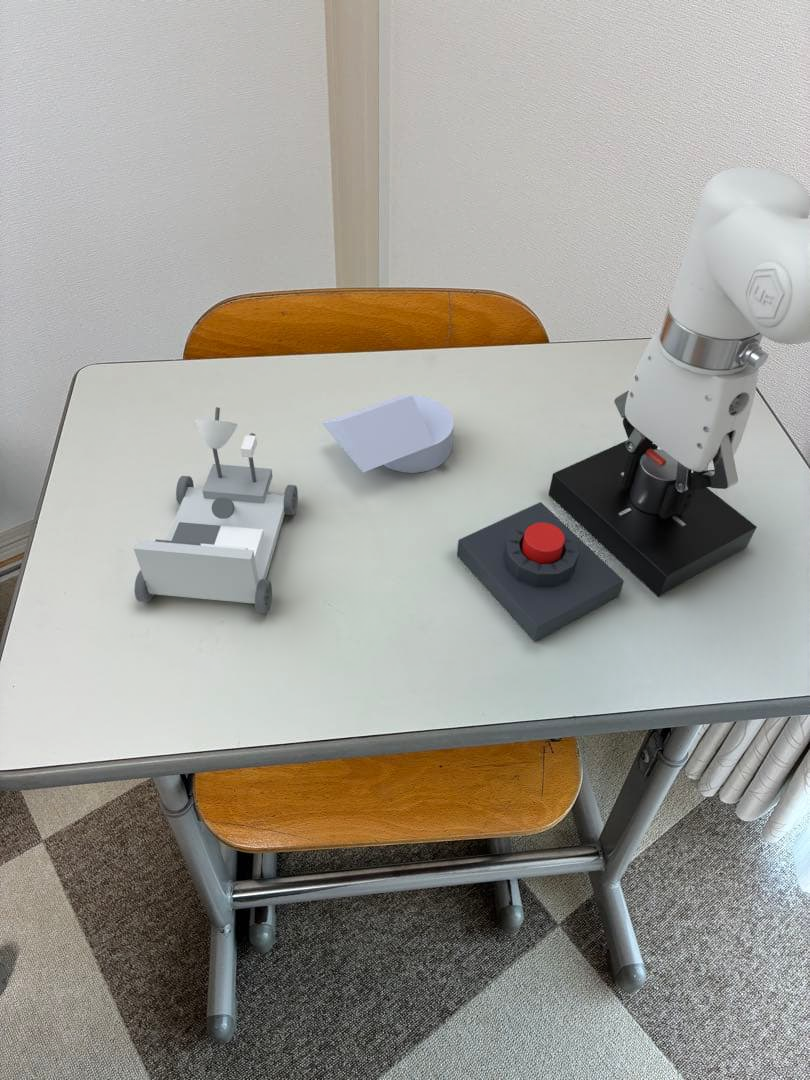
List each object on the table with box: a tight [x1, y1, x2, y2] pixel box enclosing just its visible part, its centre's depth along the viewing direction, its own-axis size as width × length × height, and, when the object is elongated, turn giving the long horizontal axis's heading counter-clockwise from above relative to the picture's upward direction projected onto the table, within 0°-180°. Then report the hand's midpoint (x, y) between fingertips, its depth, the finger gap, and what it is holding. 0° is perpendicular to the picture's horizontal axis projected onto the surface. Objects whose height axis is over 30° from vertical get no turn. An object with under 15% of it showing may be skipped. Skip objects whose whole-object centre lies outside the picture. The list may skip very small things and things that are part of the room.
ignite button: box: [522, 523, 565, 564], centre depth 72 cm, size 4×4×2 cm
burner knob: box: [630, 448, 678, 514], centre depth 76 cm, size 4×4×5 cm
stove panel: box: [548, 440, 758, 598], centre depth 79 cm, size 16×12×3 cm
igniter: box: [456, 501, 625, 642], centre depth 74 cm, size 12×10×4 cm
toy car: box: [133, 407, 299, 614], centre depth 74 cm, size 18×10×12 cm
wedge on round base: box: [321, 394, 455, 474], centre depth 84 cm, size 9×7×13 cm
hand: (653, 495), depth 78 cm, fingers closed on burner knob, 4 cm apart
